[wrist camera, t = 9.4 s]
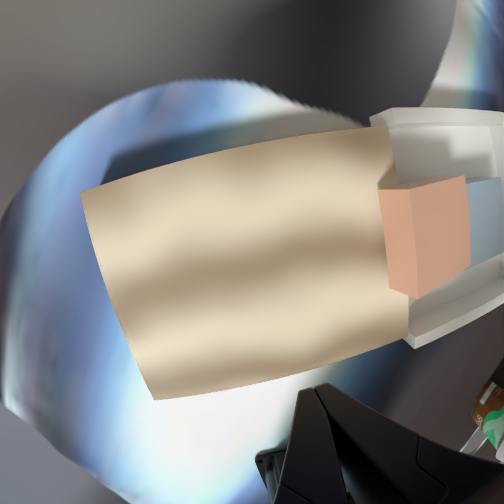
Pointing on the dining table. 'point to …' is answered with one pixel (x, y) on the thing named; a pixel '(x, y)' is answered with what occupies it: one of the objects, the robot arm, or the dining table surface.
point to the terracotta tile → (425, 232)
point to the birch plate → (250, 260)
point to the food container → (491, 415)
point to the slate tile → (485, 218)
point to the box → (440, 164)
